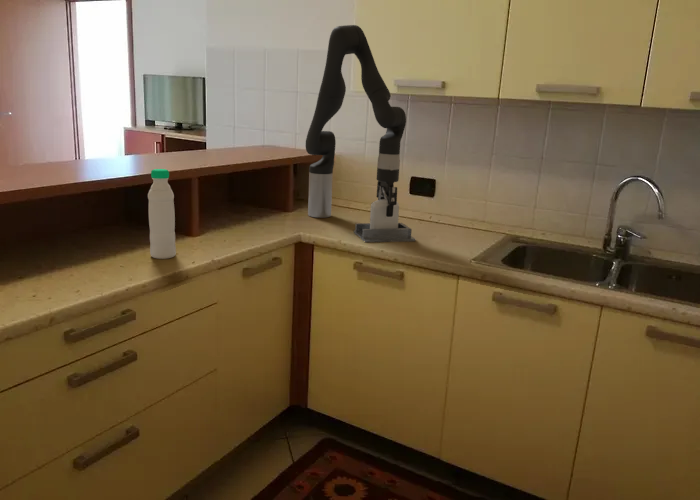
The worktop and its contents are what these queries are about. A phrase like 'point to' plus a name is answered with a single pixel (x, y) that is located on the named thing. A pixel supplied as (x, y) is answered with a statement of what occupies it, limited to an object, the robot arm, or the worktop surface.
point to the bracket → (383, 233)
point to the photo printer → (383, 216)
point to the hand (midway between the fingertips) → (385, 213)
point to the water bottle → (161, 216)
